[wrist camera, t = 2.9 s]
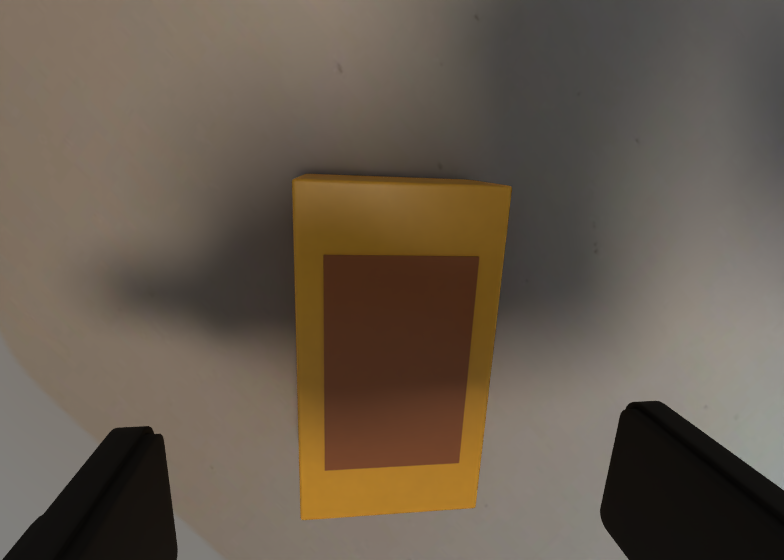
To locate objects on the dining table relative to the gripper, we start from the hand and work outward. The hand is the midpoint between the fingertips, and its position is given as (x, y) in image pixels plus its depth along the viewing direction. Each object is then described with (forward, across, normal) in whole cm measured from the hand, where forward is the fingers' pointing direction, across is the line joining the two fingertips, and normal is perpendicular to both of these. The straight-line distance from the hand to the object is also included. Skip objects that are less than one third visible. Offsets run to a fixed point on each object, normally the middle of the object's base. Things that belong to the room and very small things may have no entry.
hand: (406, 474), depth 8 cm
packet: (+8, -1, 0) cm, 8 cm away
